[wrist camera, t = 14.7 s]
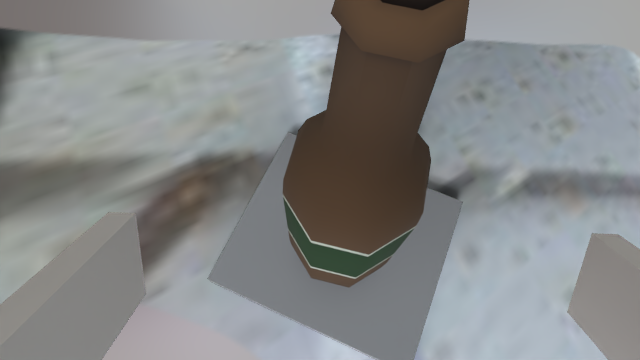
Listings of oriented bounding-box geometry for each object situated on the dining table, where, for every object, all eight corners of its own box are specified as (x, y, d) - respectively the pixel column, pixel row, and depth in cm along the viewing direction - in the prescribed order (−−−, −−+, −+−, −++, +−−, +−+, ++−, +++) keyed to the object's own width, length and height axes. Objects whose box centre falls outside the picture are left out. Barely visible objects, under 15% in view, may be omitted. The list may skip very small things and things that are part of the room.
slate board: (456, 208, 35) (462, 201, 33) (404, 373, 30) (409, 373, 28) (288, 141, 37) (288, 132, 36) (211, 282, 32) (207, 278, 30)
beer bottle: (377, 188, 34) (506, -132, 12) (399, 282, 31) (628, 84, 9) (285, 200, 33) (239, -115, 11) (297, 297, 30) (267, 126, 8)
